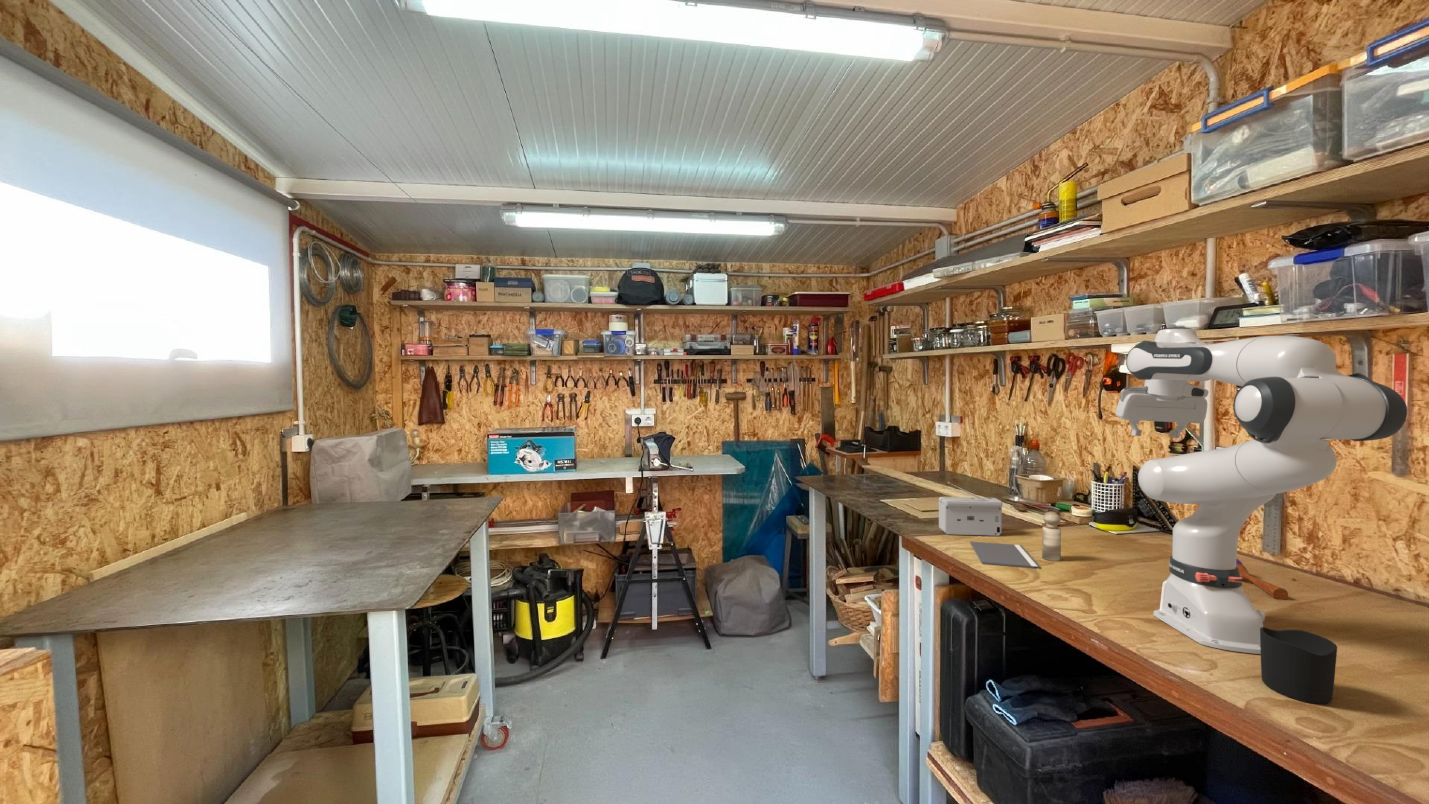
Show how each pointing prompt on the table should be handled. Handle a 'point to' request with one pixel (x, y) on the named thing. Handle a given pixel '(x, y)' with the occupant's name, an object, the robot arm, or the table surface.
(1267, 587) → the kendama
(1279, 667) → the pen holder
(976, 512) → the stereo radio cassette player
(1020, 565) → the mat
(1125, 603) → the table surface
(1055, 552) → the skittle
